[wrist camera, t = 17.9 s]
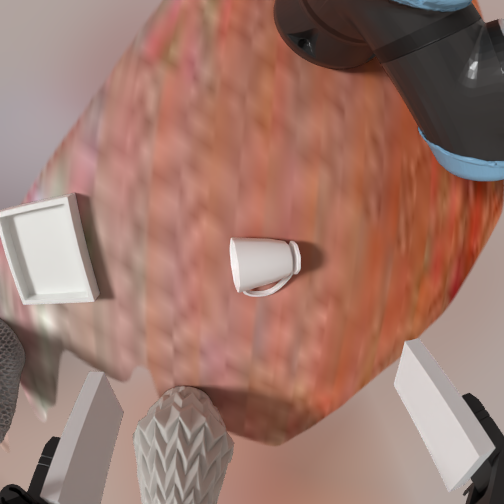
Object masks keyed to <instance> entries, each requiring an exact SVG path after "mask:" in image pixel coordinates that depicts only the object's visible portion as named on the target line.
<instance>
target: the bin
mask: <svg viewBox="0 0 504 504" xmlns="http://www.w3.org/2000/svg"><path fill="white" fill-rule="evenodd" d="M0 236H1V240H2V243H3V247H4V250H5V254H6V257H7V260H8V263H9V266H10V269H11V272H12V275H13V278H14V281H15V284H16V287H17V289H18V292H19V295H20V297H21V300H22V303H23V305H28V304H55V303H77V302H95V300H96V299H97V297H98V296H99V294H100V291H99V288H98V285H97V281H96V278H95V274H94V271H93V267H92V264H91V260H90V256H89V252H88V248H87V244H86V240H85V236H84V232H83V228H82V223H81V219H80V214H79V209H78V204H77V199H76V194H75V193H71V194H66V195H61V196H57V197H52V198H47V199H43V200H38V201H34V202H30V203H26V204H21V205H17V206H13V207H9V208H5V209H3V210H1V211H0Z"/></svg>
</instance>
